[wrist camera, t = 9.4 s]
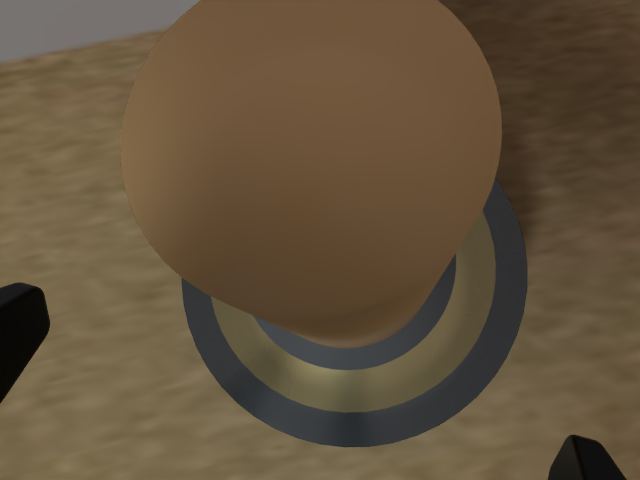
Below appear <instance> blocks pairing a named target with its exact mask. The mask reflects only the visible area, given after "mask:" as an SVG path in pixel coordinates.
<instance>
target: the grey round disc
mask: <svg viewBox="0 0 640 480" xmlns="http://www.w3.org/2000/svg"><path fill="white" fill-rule="evenodd" d="M182 291H183V301H184V308H185V312H186V317H187V321H188V325H189V328H190V331H191V334H192V336H193V339H194V342H195V344H196V347H197V349H198V351H199V353H200V355H201V356H202V358H203V360H204V362H205V364H206V366H207V367H208V369H209V370H210V372H211V373H212V374H213V376H214V377H215V378H216V380H217V381H218V383H219V384H220V385H221V387H222V388H223V389H224V390H225V391H226V392H227V393H228V394H229V395H230V396H231V397H232V398H233V399H234V400H235V401H236V402H237V403H238V404H239V405H241V406H242V407H243V408H244V409H246V410H247V411H248V412H249V413H251V414H252V415H253V416H254V417H256V418H258V419H259V420H261V421H263V422H264V423H266V424H268V425H270V426H271V427H273V428H275V429H277V430H279V431H281V432H284V433H286V434H289V435H291V436H293V437H296V438H299V439H303V440H306V441H310V442H314V443H318V444H322V445H331V446H339V447H370V446H377V445H383V444H389V443H394V442H398V441H401V440H404V439H407V438H411V437H414V436H417V435H419V434H421V433H423V432H426V431H428V430H430V429H432V428H434V427H436V426H438V425H440V424H442V423H443V422H445V421H446V420H448V419H449V418H451V417H452V416H454V415H455V414H457V413H459V412H460V411H461V410H462V409H463V408H465V407H466V406H467V405H468V404H469V403H470V402H471V401H473V400H474V399H475V398H476V397H477V396H478V395H479V394H480V393H481V392H482V390H483V389H484V388H485V387H486V386H487V385H488V384H489V382H490V381H491V380H492V379H493V378H494V376H495V375H496V373H497V372H498V370H499V368H500V367H501V365H502V364H503V362H504V361H505V359H506V358H507V356H508V353H509V351H510V349H511V347H512V345H513V343H514V340H515V338H516V336H517V333H518V330H519V326H520V323H521V320H522V316H523V313H524V306H525V300H526V293H527V260H526V252H525V244H524V240H523V236H522V233H521V229H520V225H519V222H518V219H517V217H516V214H515V212H514V210H513V207H512V205H511V202H510V200H509V199H508V197H507V195H506V193H505V192H504V190H503V188H502V187H501V185H500V183H499V182H498V180H497V179H496V178H495V180H494V183H493V187H492V189H491V191H490V194H489V196H488V198H487V201H486V203H485V205H484V208H483V210H482V212H481V213H480V215H479V217H478V218H477V220H476V222H475V223H474V225H473V226H472V228H471V230H470V231H469V233H468V235H467V236H466V238H465V239H464V241H463V242H462V244H461V246H460V247H459V249H458V250H457V252H456V274H455V282H454V286H453V290H452V294H451V297H450V300H449V302H448V304H447V307H446V309H445V311H444V313H443V315H442V316H441V318H440V320H439V321H438V323H437V324H436V326H435V327H434V328H433V329H432V330H431V332H430V333H429V334H428V335H427V336H426V337H425V338H424V339H423V340H422V341H421V342H420V343H419V344H418V345H417V346H415V347H414V348H413V349H411V350H410V351H408V352H407V353H405V354H404V355H402V356H401V357H399V358H397V359H395V360H393V361H391V362H388V363H386V364H383V365H380V366H377V367H372V368H368V369H361V370H334V369H328V368H323V367H318V366H315V365H312V364H310V363H307V362H304V361H302V360H300V359H298V358H296V357H294V356H292V355H290V354H289V353H288V352H286V351H285V350H283V349H282V348H280V347H279V346H278V345H277V344H276V343H275V342H273V341H272V340H271V339H270V338H269V337H268V336H267V334H266V333H265V332H264V331H263V330H262V329H261V327H260V326H259V324H258V323H257V321H256V320H255V318H254V317H253V315H251V314H248V313H246V312H244V311H241V310H239V309H237V308H235V307H232V306H230V305H228V304H226V303H224V302H222V301H220V300H218V299H216V298H214V297H211V296H209V295H207V294H205V293H204V292H202V291H201V290H199V289H198V288H196V287H195V286H193V285H192V284H190V283H189V282H187V281H186V280H184V279H183V278H182Z"/></svg>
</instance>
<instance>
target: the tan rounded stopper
mask: <svg viewBox="0 0 640 480" xmlns="http://www.w3.org/2000/svg"><path fill="white" fill-rule="evenodd" d="M501 143H502V114H501V108H500V102H499V96H498V91H497V88H496V85H495V81H494V78H493V75H492V72H491V69H490V67H489V65H488V63H487V61H486V59H485V57H484V55H483V53H482V51H481V49H480V47H479V46H478V44H477V43H476V41H475V40H474V38H473V37H472V35H471V34H470V32H469V31H468V29H467V28H466V27H465V26H464V25H463V24H462V23H461V22H460V21H459V19H458V18H457V17H456V16H455V15H454V14H453V13H452V12H451V11H450V10H449V9H448V8H446V7H445V6H444V5H443V4H442V3H440V2H439V1H438V0H201V1H199V2H198V3H197V4H195V5H194V6H193V7H192V8H191V9H189V10H188V11H187V12H186V13H185V14H184V15H182V16H181V17H180V18H179V19H178V20H177V21H176V22H175V23H174V24H173V25H172V26H171V27H170V28H169V29H168V30H167V31H166V33H165V34H164V35H163V36H162V37H161V39H160V40H159V41H158V43H157V44H156V45H155V47H154V48H153V49H152V51H151V52H150V54H149V56H148V57H147V59H146V61H145V62H144V64H143V66H142V68H141V69H140V71H139V73H138V75H137V78H136V80H135V82H134V85H133V87H132V89H131V92H130V95H129V99H128V102H127V106H126V109H125V113H124V118H123V125H122V132H121V158H120V159H121V167H122V175H123V182H124V186H125V189H126V193H127V197H128V201H129V204H130V206H131V209H132V211H133V213H134V216H135V218H136V220H137V223H138V225H139V226H140V228H141V230H142V231H143V233H144V235H145V236H146V238H147V239H148V241H149V243H150V244H151V246H152V247H153V248H154V249H155V250H156V252H157V253H158V254H159V255H160V256H161V258H162V259H163V260H164V261H165V263H167V264H168V265H169V266H170V267H171V268H172V269H173V270H174V271H175V272H176V273H178V274H179V275H180V276H181V277H182V278H183V279H184V280H186V281H187V282H189V283H190V284H192V285H193V286H195V287H196V288H198V289H199V290H201V291H202V292H204V293H205V294H207V295H209V296H211V297H214V298H216V299H218V300H220V301H222V302H224V303H226V304H228V305H230V306H232V307H235V308H237V309H239V310H241V311H244V312H246V313H248V314H251V315H253V317H254V318H255V320H256V321H257V323H258V324H259V326H260V327H261V329H262V330H263V331H264V332H265V333H266V334H267V336H268V337H269V338H270V339H271V340H272V341H273V342H275V343H276V344H277V345H278V346H279V347H280V348H282V349H283V350H285V351H286V352H288V353H289V354H290V355H292V356H294V357H296V358H298V359H300V360H302V361H304V362H307V363H310V364H312V365H315V366H318V367H323V368H328V369H334V370H361V369H368V368H372V367H377V366H380V365H383V364H386V363H388V362H391V361H393V360H395V359H397V358H399V357H401V356H402V355H404V354H405V353H407V352H408V351H410V350H411V349H413V348H414V347H415V346H417V345H418V344H419V343H420V342H421V341H422V340H423V339H424V338H425V337H426V336H427V335H428V334H429V333H430V332H431V330H432V329H433V328H434V327H435V326H436V324H437V323H438V321H439V320H440V318H441V316H442V315H443V313H444V311H445V309H446V307H447V304H448V302H449V300H450V297H451V294H452V290H453V286H454V282H455V274H456V252H457V250H458V249H459V247H460V246H461V244H462V242H463V241H464V239H465V238H466V236H467V235H468V233H469V231H470V230H471V228H472V226H473V225H474V223H475V222H476V220H477V218H478V217H479V215H480V213H481V212H482V210H483V208H484V205H485V203H486V201H487V198H488V196H489V194H490V191H491V189H492V187H493V183H494V180H495V176H496V172H497V169H498V165H499V159H500V151H501Z"/></svg>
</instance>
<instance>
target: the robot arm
mask: <svg viewBox="0 0 640 480" xmlns="http://www.w3.org/2000/svg"><path fill="white" fill-rule="evenodd" d="M49 328H50V319H49V314H48V310H47V305H46V300H45V296H44V293H43V291H42V290H41V288H39V287H36V286H33V285H29V284H25V283H14V284H11V285H8V286H5V287H2V288H0V403H1V402H2V401H3V399H4V398H5V396H6V395H7V394H8V392H9V391H10V389H11V388H12V386H13V385H14V383H15V382H16V380H17V379H18V377H19V376H20V374H21V373H22V371H23V370H24V368H25V367H26V365H27V364H28V362H29V361H30V360H31V358H32V357H33V355H34V354H35V352H36V351H37V349H38V348H39V346H40V345H41V343H42V342H43V340H44V339H45V337H46V336H47V334H48V331H49ZM548 480H627V479H626V478H625V476H624V475H623V474H622V472H621V471H620V469H619V468H618V467H617V465H616V464H615V462H614V461H613V460H612V458H611V457H610V455H609V454H608V452H607V451H606V450H605V448H604V447H603V446H602V445H601V444H600V443H599V442H598V441H596V440H592V439H589V438H585V437H581V436H578V435H570V436H568V437H567V438H566V440H565V442H564V444H563V445H562V447H561V449H560V451H559V453H558V455H557V457H556V458H555V460H554V462H553V464H552V466H551V468H550V471H549V476H548Z"/></svg>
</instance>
